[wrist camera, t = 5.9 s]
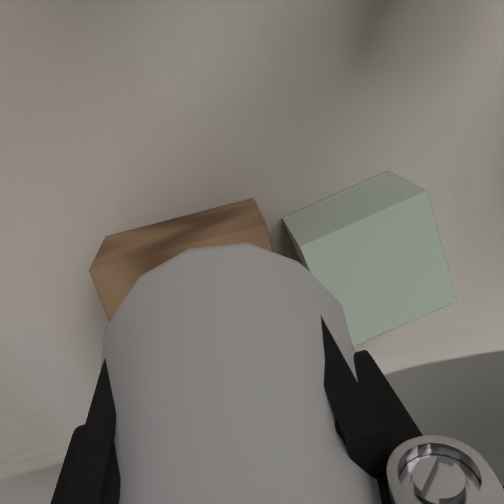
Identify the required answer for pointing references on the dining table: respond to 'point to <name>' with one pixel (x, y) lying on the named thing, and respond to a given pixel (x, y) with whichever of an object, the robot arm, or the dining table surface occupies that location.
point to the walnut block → (170, 246)
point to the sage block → (375, 253)
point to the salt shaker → (229, 384)
